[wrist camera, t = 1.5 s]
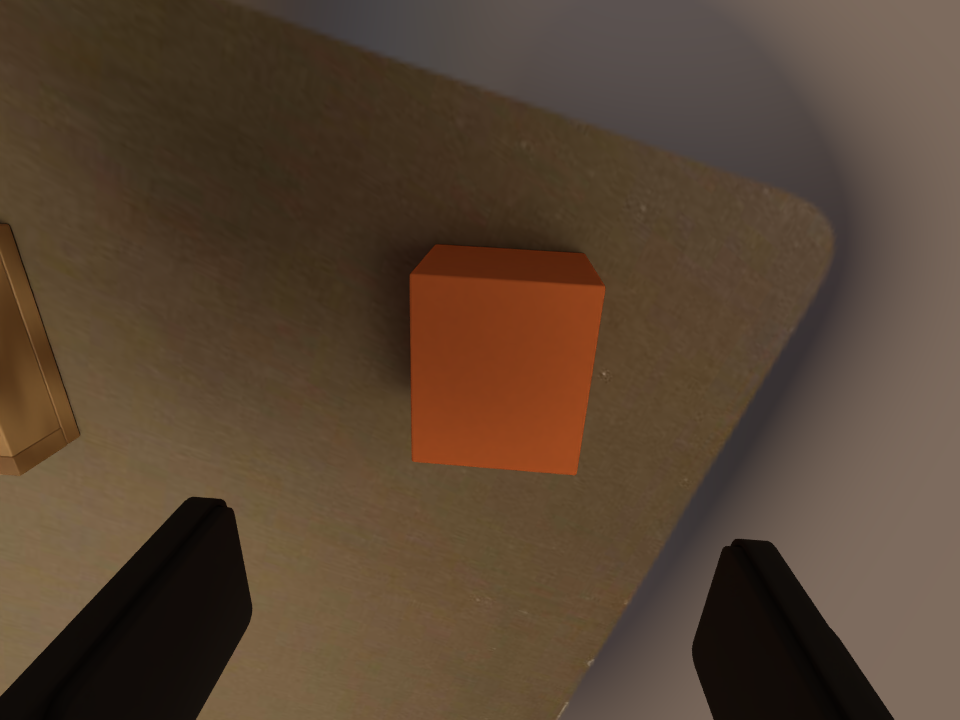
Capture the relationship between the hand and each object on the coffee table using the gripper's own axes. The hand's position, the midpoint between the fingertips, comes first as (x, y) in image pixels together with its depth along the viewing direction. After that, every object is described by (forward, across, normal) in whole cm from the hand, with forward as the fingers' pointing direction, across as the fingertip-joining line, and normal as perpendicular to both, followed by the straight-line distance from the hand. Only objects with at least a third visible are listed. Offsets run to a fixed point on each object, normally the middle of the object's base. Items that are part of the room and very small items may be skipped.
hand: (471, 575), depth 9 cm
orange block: (+13, 0, -1) cm, 13 cm away
